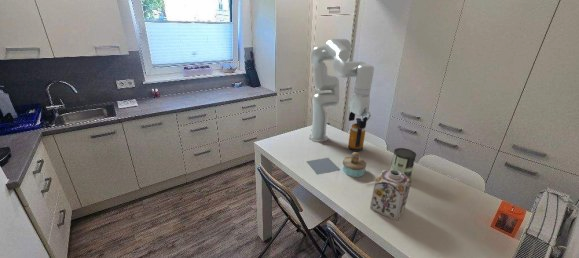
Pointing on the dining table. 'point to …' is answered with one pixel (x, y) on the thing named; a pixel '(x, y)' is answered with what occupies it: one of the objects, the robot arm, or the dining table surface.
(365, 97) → the robot arm
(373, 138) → the dining table surface
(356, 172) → the bowl
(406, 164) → the coffee can
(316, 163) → the mat
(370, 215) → the dining table surface
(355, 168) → the lid
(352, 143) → the canister
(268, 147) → the dining table surface
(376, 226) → the dining table surface
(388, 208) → the decorative jar
